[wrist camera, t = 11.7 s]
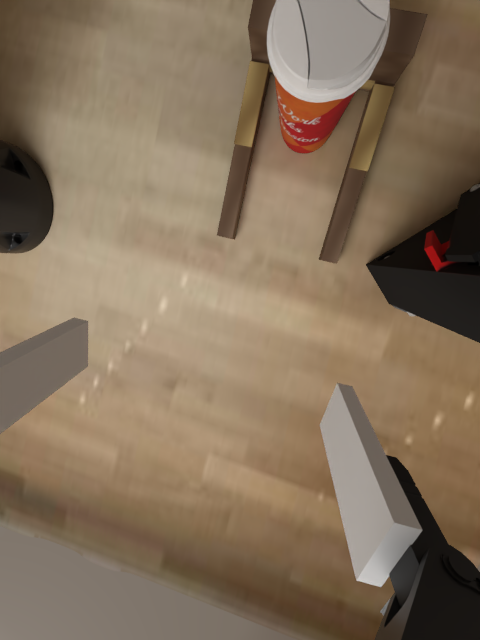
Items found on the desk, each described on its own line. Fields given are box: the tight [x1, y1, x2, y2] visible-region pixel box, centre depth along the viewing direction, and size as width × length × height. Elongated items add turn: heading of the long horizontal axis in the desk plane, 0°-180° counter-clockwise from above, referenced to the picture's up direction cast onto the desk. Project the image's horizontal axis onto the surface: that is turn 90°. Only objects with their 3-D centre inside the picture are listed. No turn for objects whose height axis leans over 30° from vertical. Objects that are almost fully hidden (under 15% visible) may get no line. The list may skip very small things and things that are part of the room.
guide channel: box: [217, 0, 427, 263], centre depth 29 cm, size 16×22×6 cm
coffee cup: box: [267, 0, 390, 153], centre depth 24 cm, size 8×8×15 cm
